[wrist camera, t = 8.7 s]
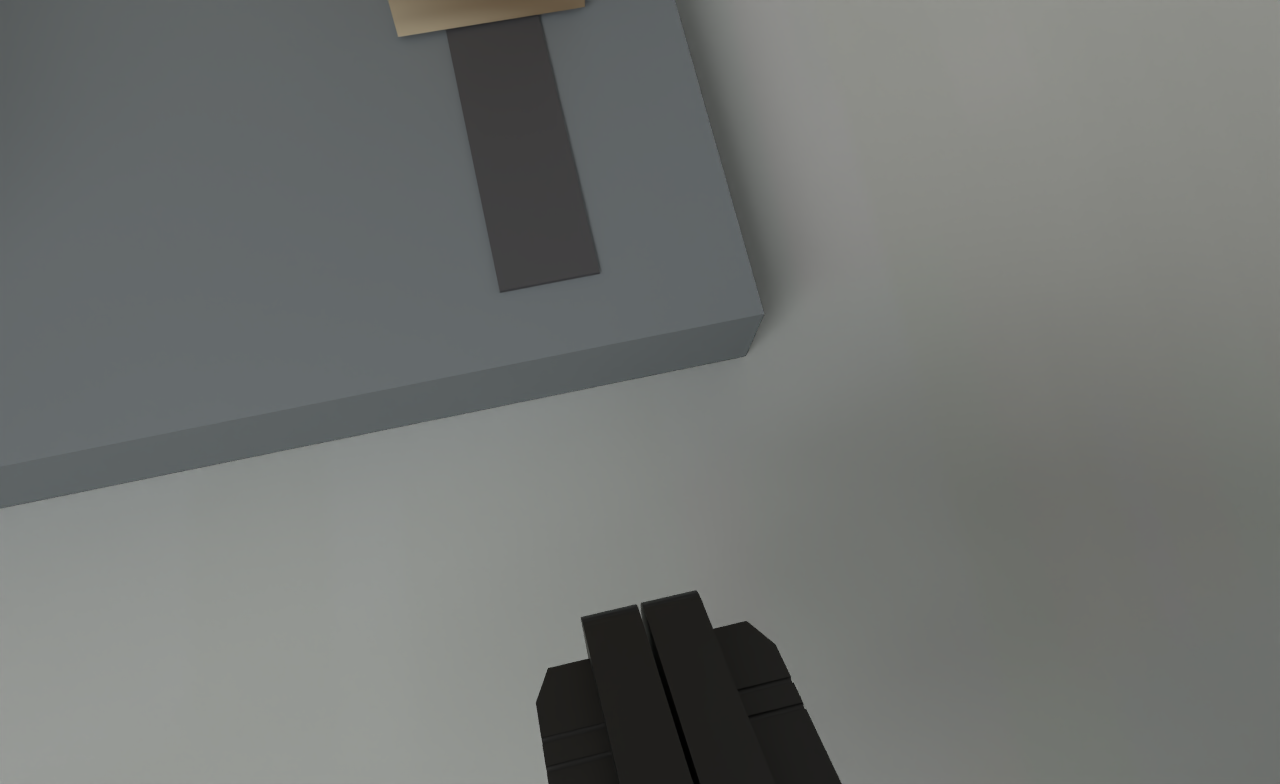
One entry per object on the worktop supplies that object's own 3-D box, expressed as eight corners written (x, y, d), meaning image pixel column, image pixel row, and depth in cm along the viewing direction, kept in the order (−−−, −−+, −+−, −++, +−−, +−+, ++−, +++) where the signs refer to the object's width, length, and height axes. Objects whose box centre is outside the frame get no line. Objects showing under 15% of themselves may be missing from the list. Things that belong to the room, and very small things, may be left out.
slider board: (-444, 599, 20) (-1297, 501, 11) (-403, 39, 24) (-1017, -382, 15) (745, 355, 23) (850, 117, 14) (616, -113, 26) (632, -545, 17)
